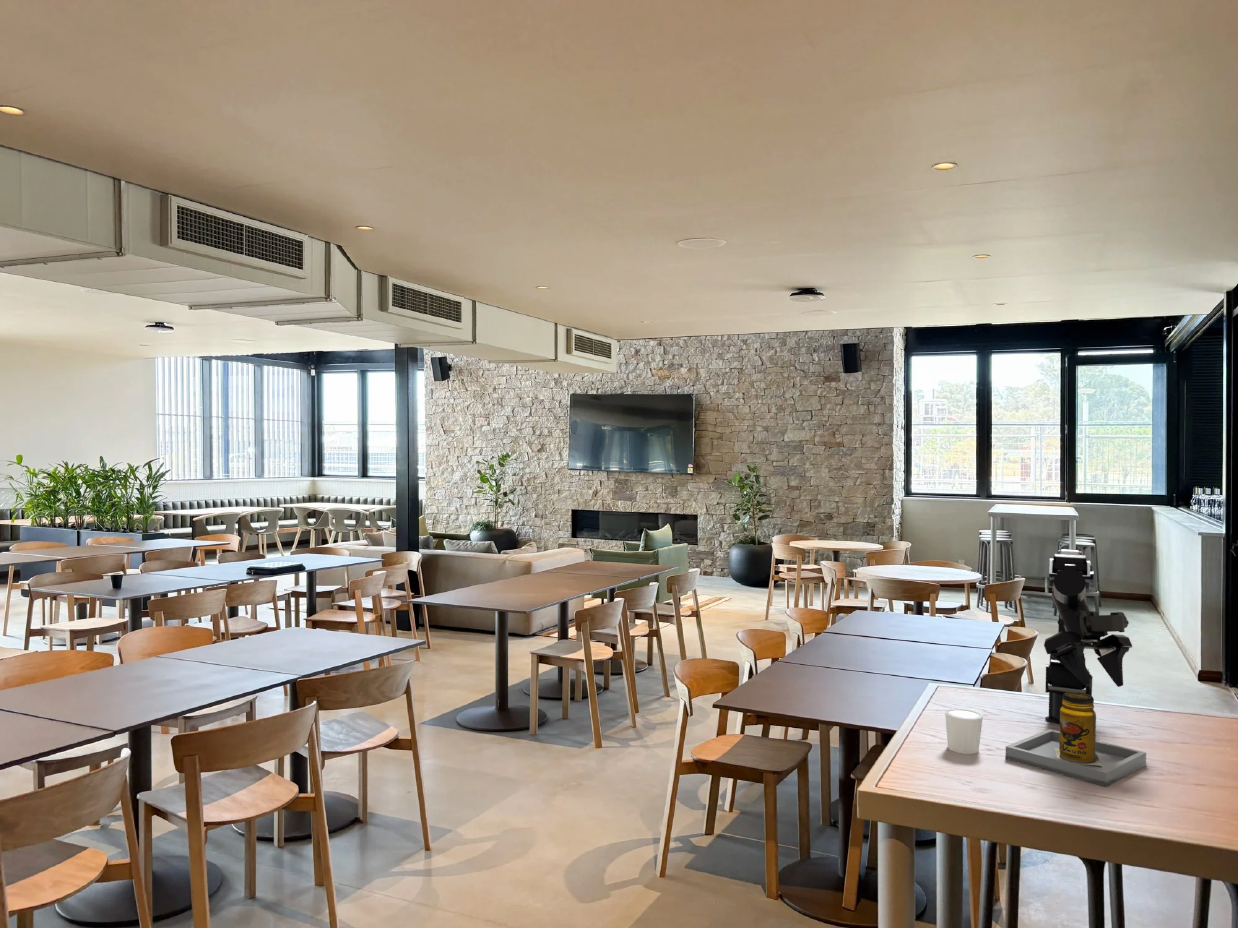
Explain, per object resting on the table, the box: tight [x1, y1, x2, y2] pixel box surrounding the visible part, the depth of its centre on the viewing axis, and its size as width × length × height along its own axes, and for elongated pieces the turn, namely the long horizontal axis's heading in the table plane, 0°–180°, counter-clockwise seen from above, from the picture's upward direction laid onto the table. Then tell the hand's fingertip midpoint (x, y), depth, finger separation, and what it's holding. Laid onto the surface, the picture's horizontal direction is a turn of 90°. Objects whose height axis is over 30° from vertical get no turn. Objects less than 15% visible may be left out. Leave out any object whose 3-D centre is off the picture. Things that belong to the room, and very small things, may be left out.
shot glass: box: [944, 708, 984, 755], centre depth 177 cm, size 7×7×7 cm
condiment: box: [1054, 692, 1102, 766], centre depth 170 cm, size 7×8×12 cm
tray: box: [1004, 728, 1147, 787], centre depth 170 cm, size 18×18×2 cm
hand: (1104, 685), depth 178 cm, fingers open, 9 cm apart
